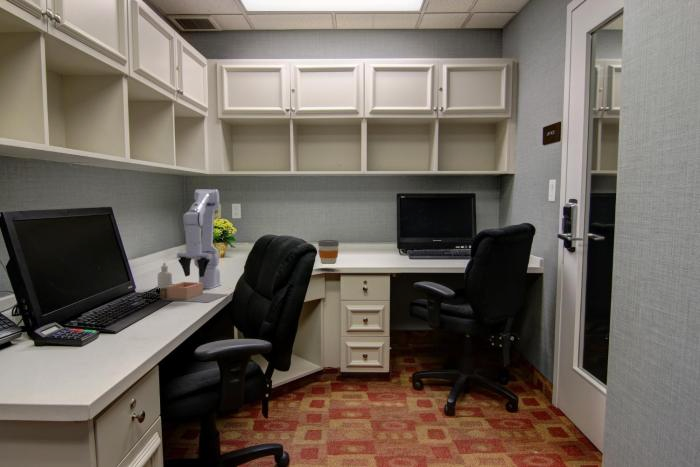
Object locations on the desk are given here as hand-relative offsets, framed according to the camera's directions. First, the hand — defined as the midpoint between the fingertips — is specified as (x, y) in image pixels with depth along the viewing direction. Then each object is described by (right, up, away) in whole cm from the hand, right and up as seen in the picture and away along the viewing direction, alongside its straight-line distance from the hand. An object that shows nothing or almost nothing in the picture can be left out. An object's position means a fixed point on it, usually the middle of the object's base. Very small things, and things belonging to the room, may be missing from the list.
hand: (194, 276), depth 162 cm
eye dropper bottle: (-17, -8, +12) cm, 23 cm away
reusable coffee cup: (+49, -3, +87) cm, 99 cm away
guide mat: (-1, -8, +1) cm, 9 cm away
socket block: (-4, -8, +2) cm, 9 cm away
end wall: (-10, -8, +3) cm, 13 cm away
